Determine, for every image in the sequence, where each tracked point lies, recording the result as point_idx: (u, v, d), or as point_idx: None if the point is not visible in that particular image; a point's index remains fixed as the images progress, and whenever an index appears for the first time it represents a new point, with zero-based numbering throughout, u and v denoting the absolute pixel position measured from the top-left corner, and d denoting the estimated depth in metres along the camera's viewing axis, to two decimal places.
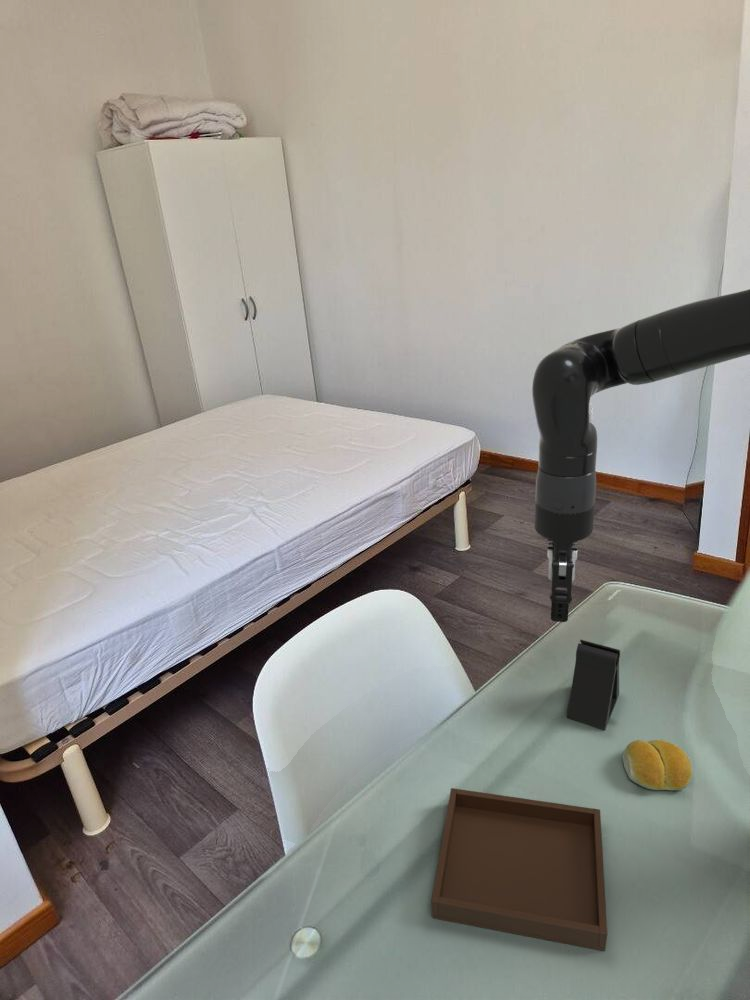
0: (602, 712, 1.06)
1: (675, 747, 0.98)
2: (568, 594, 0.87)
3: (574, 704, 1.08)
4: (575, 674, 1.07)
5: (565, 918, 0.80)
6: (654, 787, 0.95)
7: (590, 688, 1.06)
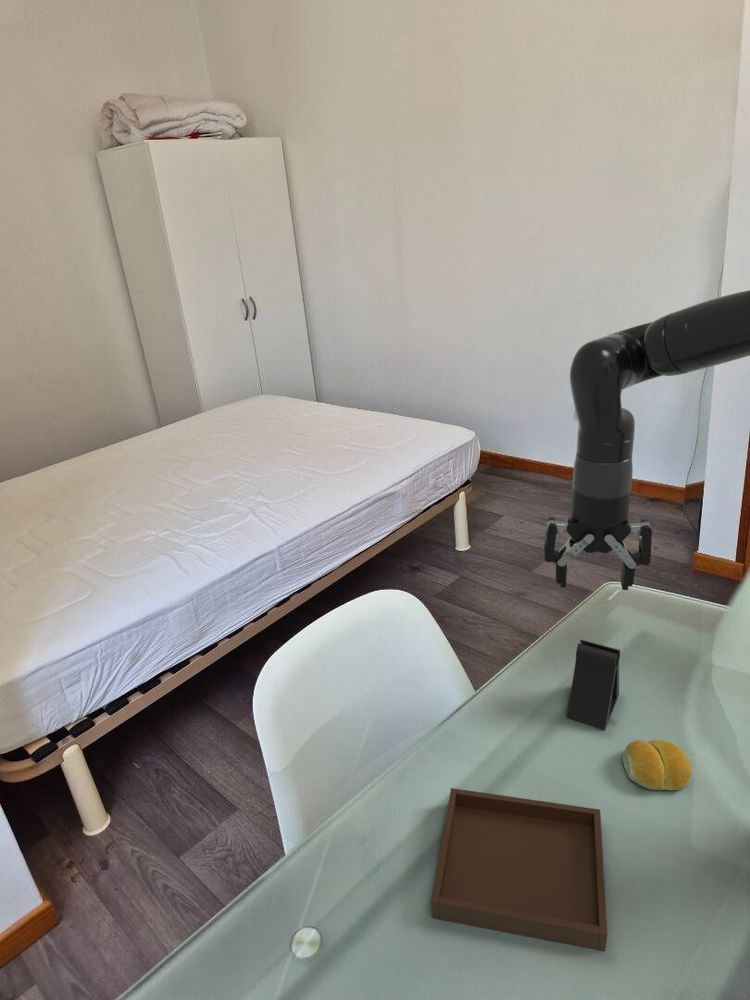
0: (602, 712, 1.06)
1: (675, 747, 0.98)
2: (545, 551, 0.97)
3: (574, 704, 1.08)
4: (575, 674, 1.07)
5: (565, 918, 0.80)
6: (654, 787, 0.95)
7: (590, 688, 1.06)
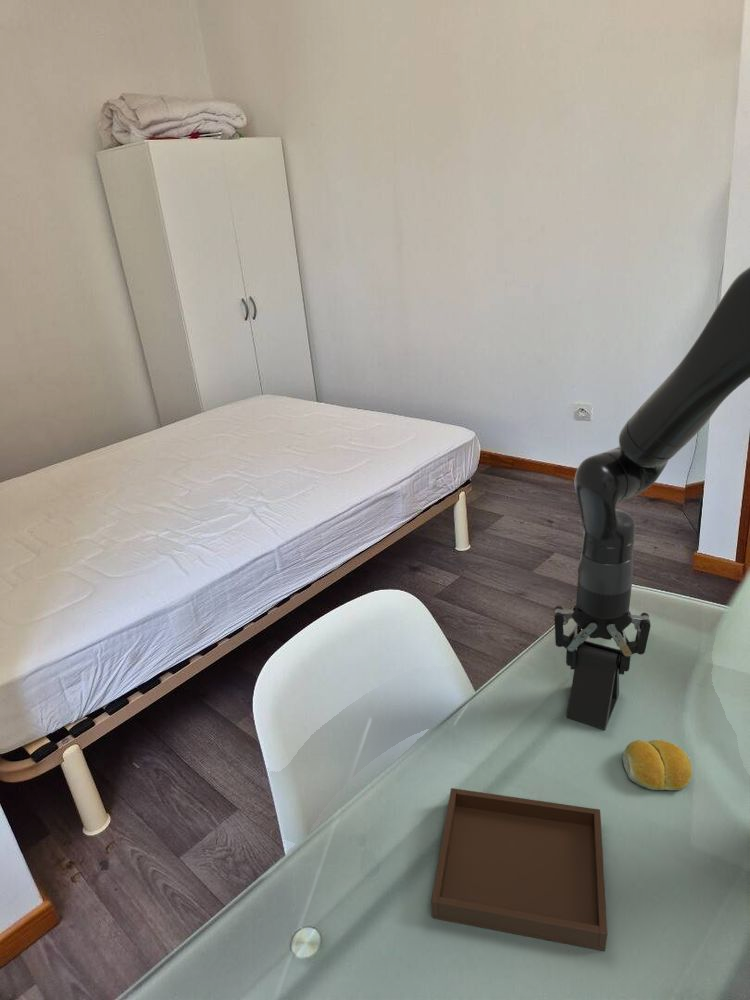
0: (602, 712, 1.06)
1: (675, 747, 0.98)
2: (555, 637, 1.06)
3: (574, 704, 1.08)
4: (575, 674, 1.08)
5: (565, 918, 0.80)
6: (654, 787, 0.95)
7: (590, 688, 1.06)
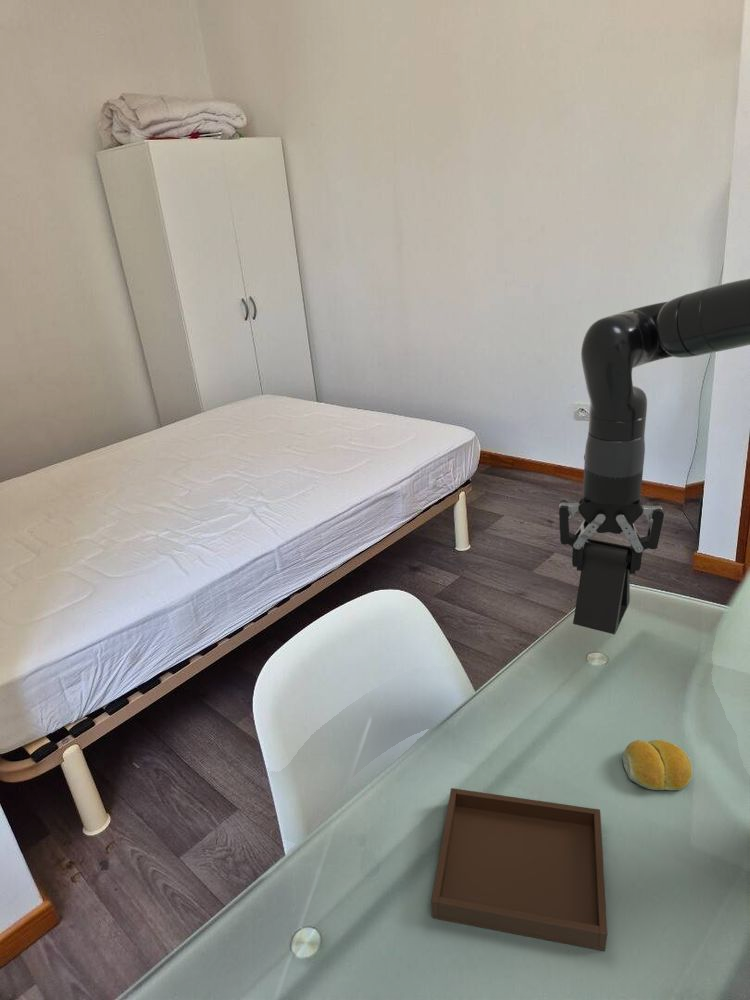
0: (611, 615, 0.98)
1: (675, 747, 0.98)
2: (560, 534, 0.98)
3: (581, 609, 1.00)
4: (582, 576, 0.99)
5: (565, 918, 0.80)
6: (654, 787, 0.95)
7: (599, 590, 0.98)
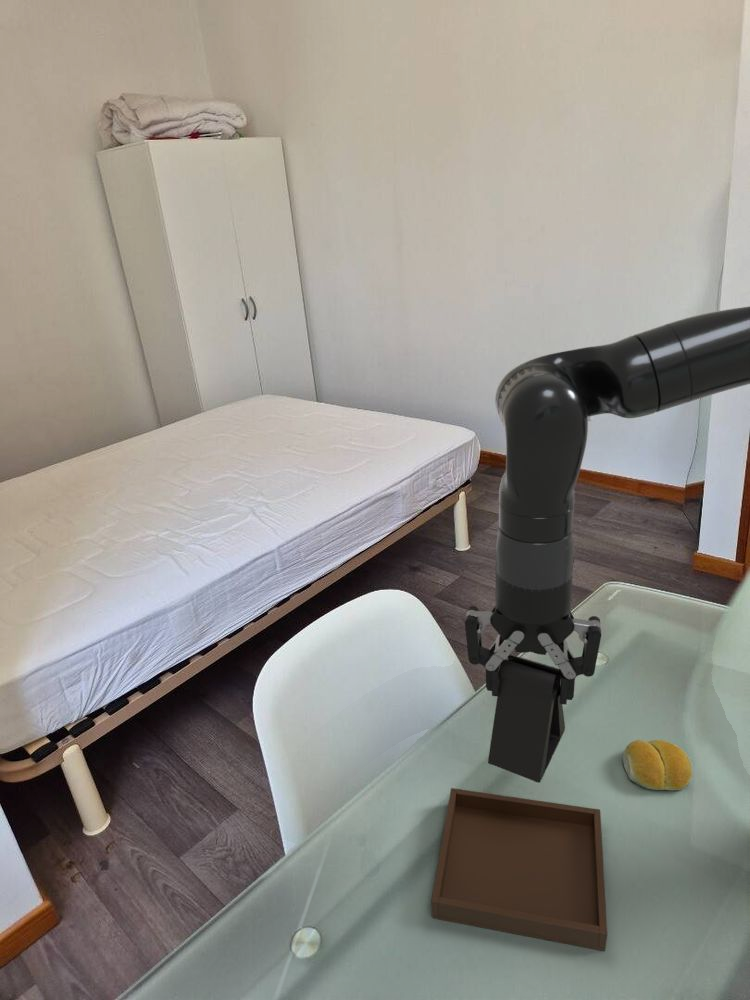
0: (535, 758, 0.74)
1: (676, 747, 0.98)
2: (468, 650, 0.74)
3: (497, 745, 0.76)
4: (499, 703, 0.76)
5: (565, 918, 0.80)
6: (654, 787, 0.95)
7: (519, 723, 0.75)
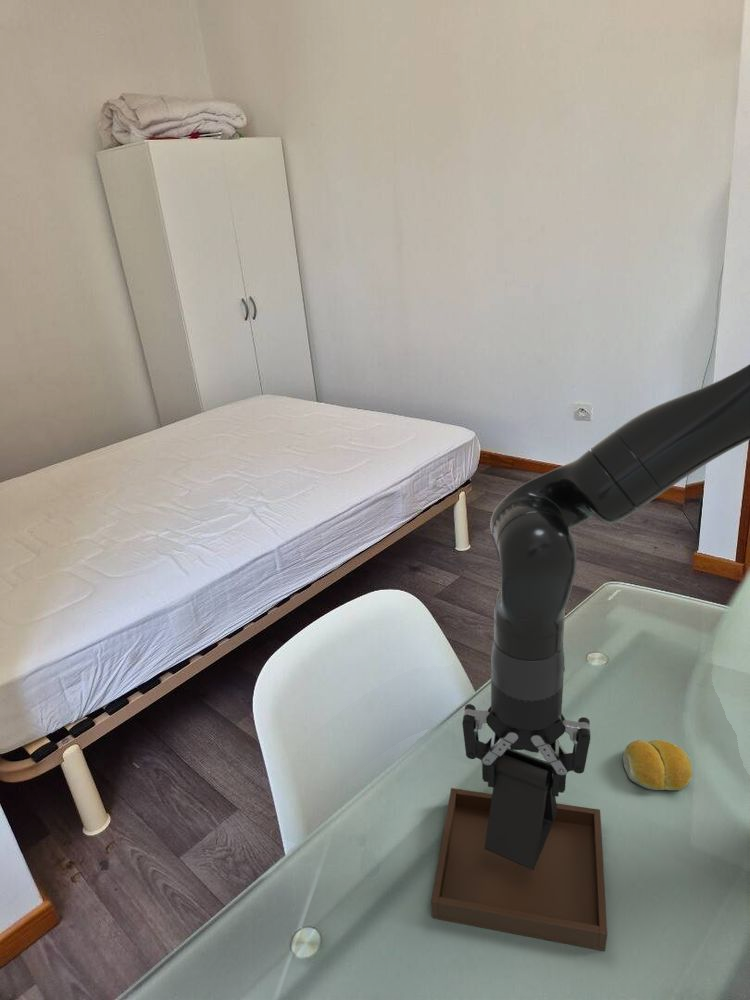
0: (529, 847, 0.78)
1: (675, 747, 0.98)
2: None
3: (493, 833, 0.81)
4: (494, 794, 0.80)
5: (565, 918, 0.80)
6: (654, 787, 0.95)
7: (514, 814, 0.79)
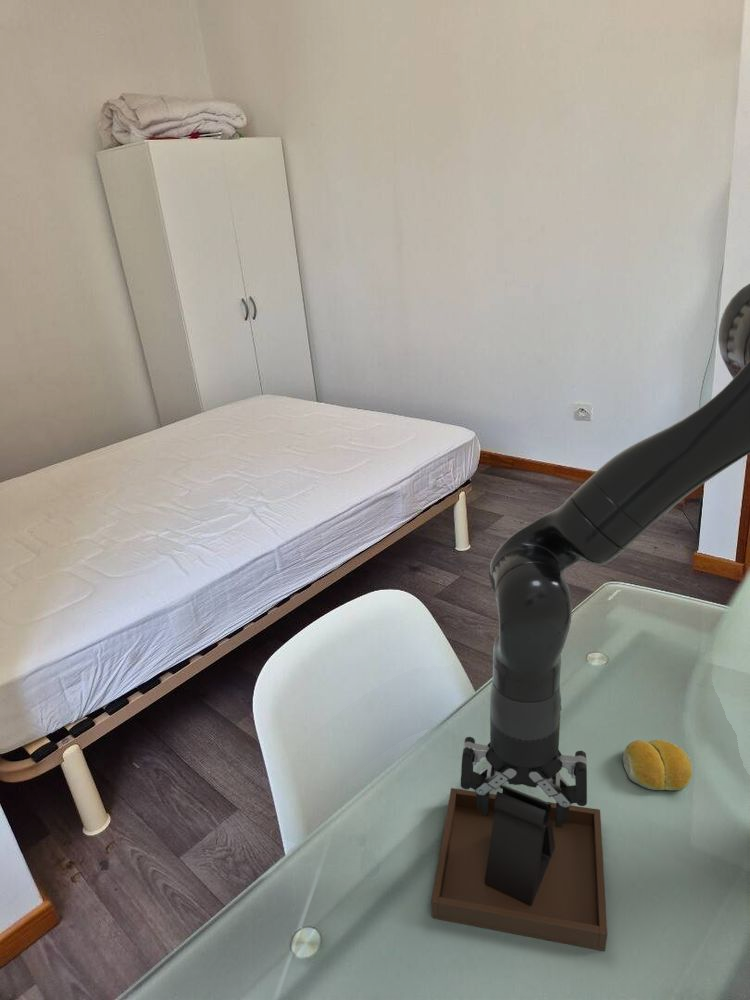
0: (527, 883, 0.81)
1: (676, 747, 0.98)
2: (461, 776, 0.81)
3: (493, 868, 0.83)
4: (494, 831, 0.83)
5: (565, 918, 0.80)
6: (654, 787, 0.95)
7: (513, 851, 0.82)
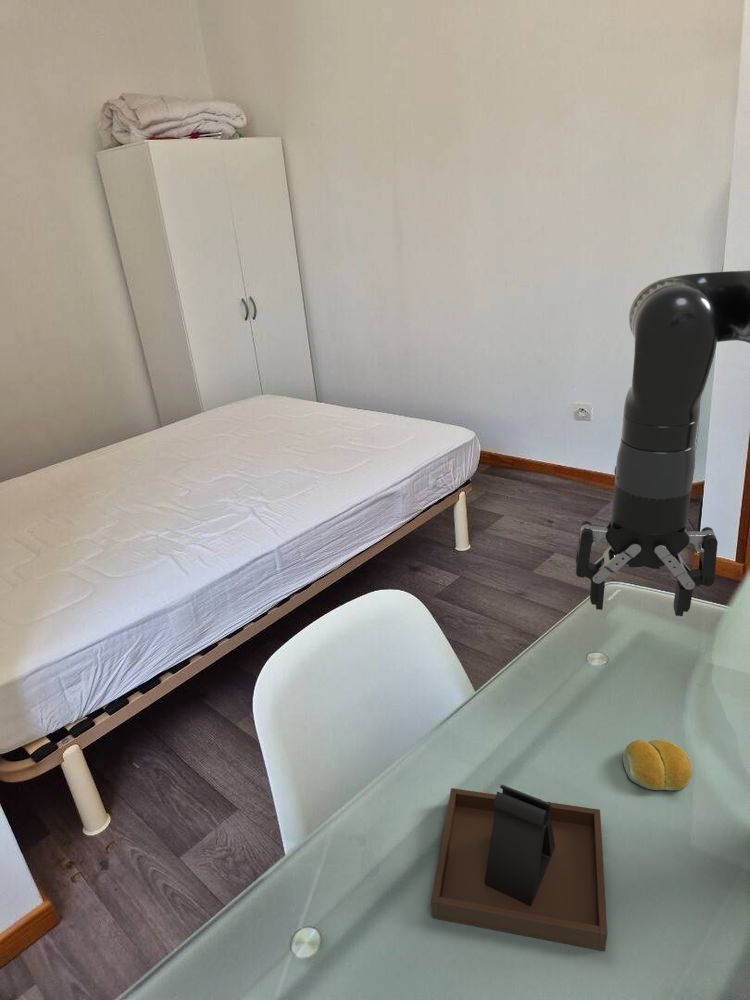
0: (527, 883, 0.81)
1: (675, 747, 0.98)
2: (577, 563, 0.77)
3: (493, 868, 0.83)
4: (494, 831, 0.83)
5: (565, 918, 0.80)
6: (654, 787, 0.95)
7: (513, 851, 0.82)
